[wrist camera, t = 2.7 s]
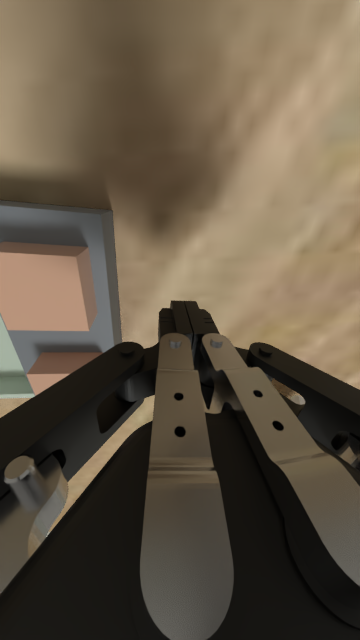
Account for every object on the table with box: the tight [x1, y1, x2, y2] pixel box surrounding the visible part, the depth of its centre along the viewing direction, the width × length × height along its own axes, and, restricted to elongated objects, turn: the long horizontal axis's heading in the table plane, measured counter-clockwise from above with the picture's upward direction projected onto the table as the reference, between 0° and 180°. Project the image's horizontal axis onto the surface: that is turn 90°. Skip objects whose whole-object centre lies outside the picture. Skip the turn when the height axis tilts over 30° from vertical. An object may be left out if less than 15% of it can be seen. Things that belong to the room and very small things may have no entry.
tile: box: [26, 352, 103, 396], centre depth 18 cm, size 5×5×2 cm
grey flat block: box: [0, 200, 122, 395], centre depth 18 cm, size 18×8×4 cm, turn 175°
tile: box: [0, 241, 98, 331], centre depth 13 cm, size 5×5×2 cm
